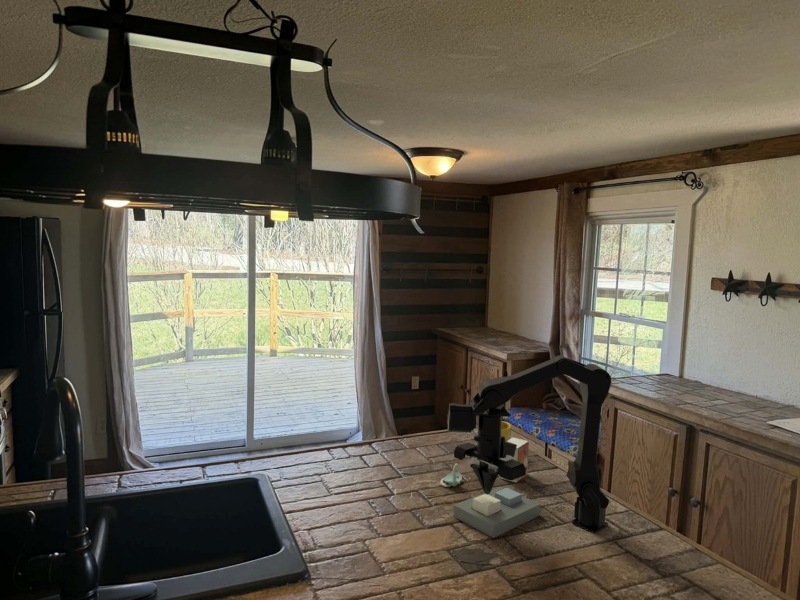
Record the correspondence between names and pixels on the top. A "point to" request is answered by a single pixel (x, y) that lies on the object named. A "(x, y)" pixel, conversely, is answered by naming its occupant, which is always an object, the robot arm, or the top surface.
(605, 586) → the top surface
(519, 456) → the small box
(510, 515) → the keypad
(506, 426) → the plant pot
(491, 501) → the cream key
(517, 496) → the slate key
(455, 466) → the pacifier
